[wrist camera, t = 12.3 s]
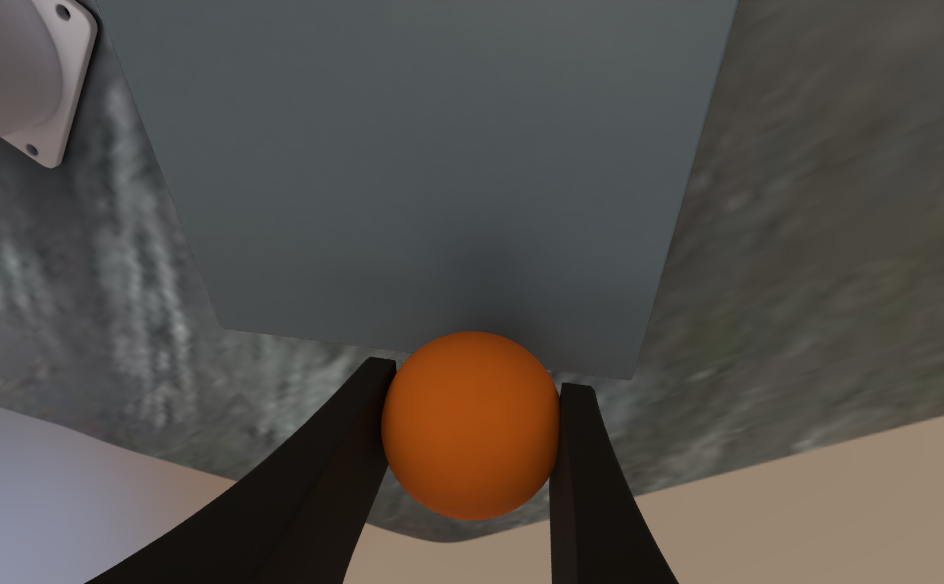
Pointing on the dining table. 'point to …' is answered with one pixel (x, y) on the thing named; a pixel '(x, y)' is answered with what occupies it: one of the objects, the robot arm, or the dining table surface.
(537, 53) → the cabinet
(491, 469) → the ball
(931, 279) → the dining table surface
